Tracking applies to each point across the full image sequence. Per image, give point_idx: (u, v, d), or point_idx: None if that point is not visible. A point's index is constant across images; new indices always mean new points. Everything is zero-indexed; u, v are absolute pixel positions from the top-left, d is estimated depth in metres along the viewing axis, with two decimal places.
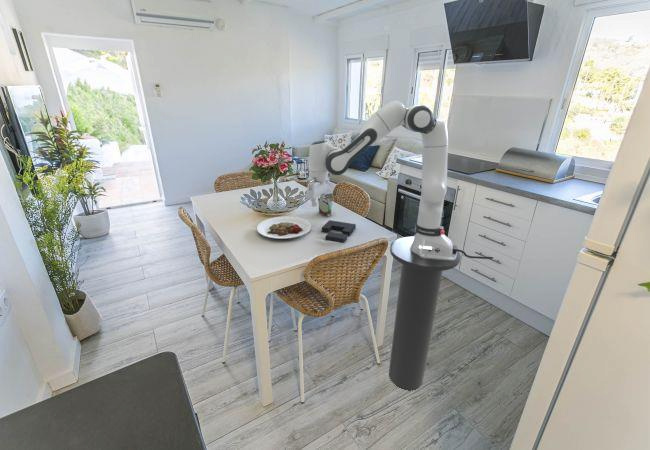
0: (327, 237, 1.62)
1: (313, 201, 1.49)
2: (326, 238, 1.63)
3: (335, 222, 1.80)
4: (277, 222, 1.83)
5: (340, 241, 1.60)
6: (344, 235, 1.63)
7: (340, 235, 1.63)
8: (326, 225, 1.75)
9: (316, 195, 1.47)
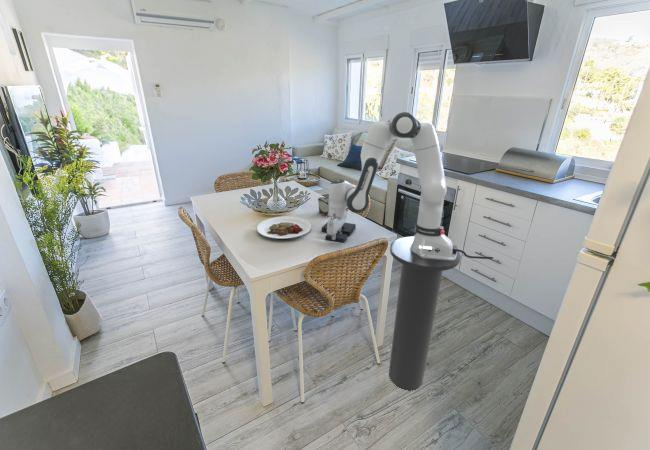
0: (327, 237, 1.62)
1: (333, 235, 1.58)
2: (326, 238, 1.63)
3: None
4: (277, 222, 1.83)
5: (340, 241, 1.60)
6: (344, 235, 1.63)
7: (340, 235, 1.63)
8: (326, 225, 1.75)
9: (335, 231, 1.55)
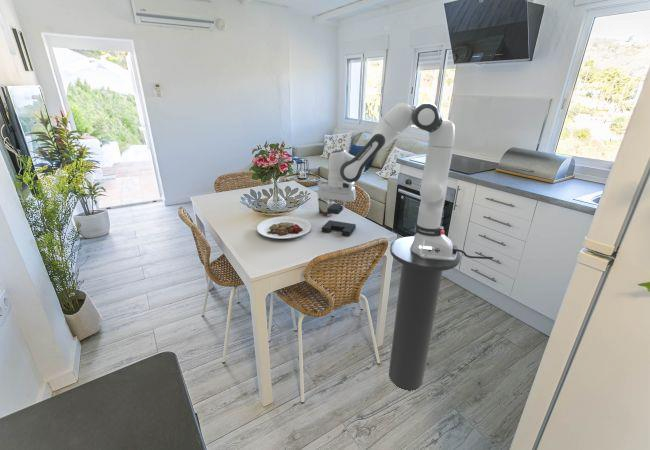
0: None
1: None
2: None
3: (335, 222, 1.80)
4: (277, 222, 1.83)
5: None
6: (335, 209, 1.61)
7: (335, 207, 1.63)
8: (326, 225, 1.75)
9: (323, 196, 1.64)
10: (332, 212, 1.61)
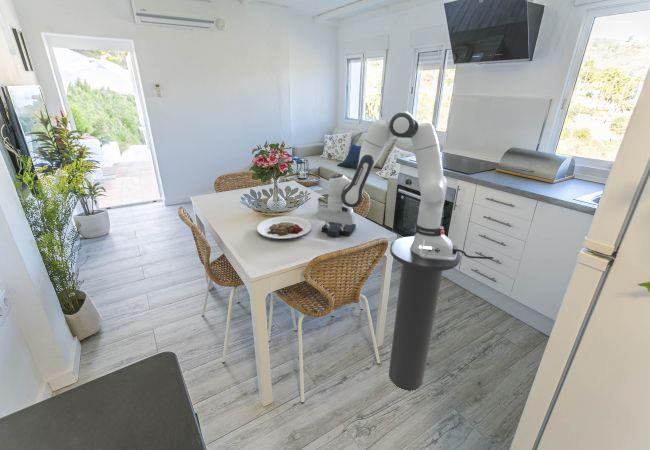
0: None
1: None
2: None
3: None
4: (277, 222, 1.83)
5: None
6: (335, 231, 1.66)
7: (334, 229, 1.68)
8: (326, 225, 1.75)
9: (323, 218, 1.68)
10: (331, 234, 1.66)
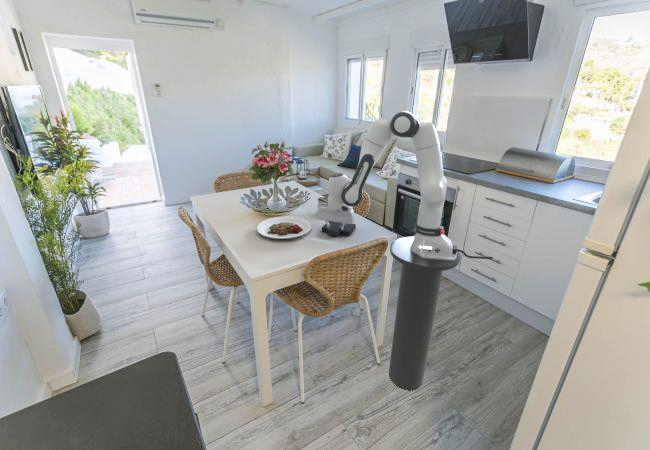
0: None
1: None
2: None
3: (335, 222, 1.80)
4: (277, 222, 1.83)
5: None
6: (335, 230, 1.66)
7: (334, 229, 1.68)
8: (326, 225, 1.75)
9: (323, 217, 1.68)
10: (331, 233, 1.66)
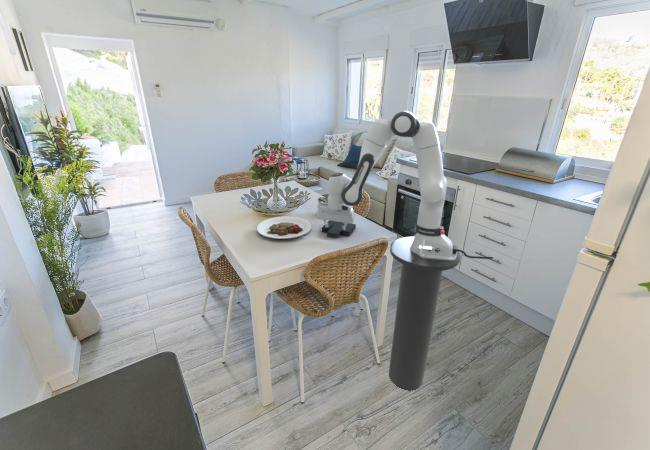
0: None
1: None
2: None
3: (335, 222, 1.80)
4: (277, 222, 1.83)
5: None
6: (335, 232, 1.66)
7: (334, 231, 1.68)
8: None
9: (323, 217, 1.68)
10: (331, 236, 1.66)
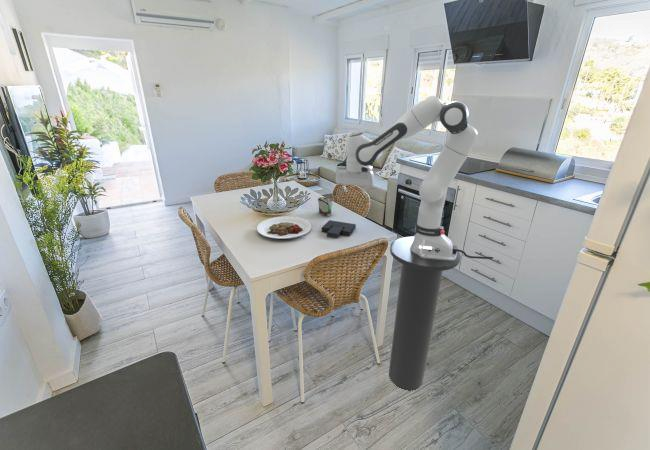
0: None
1: None
2: None
3: (335, 222, 1.80)
4: (277, 222, 1.83)
5: None
6: (335, 232, 1.66)
7: (334, 231, 1.68)
8: (326, 225, 1.75)
9: (341, 181, 1.64)
10: (331, 236, 1.66)
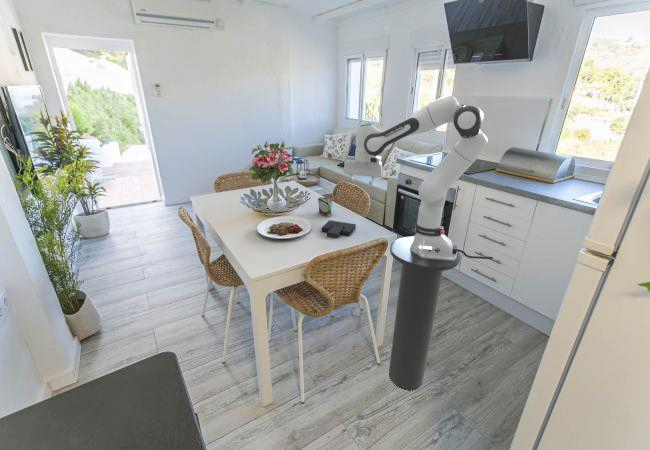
0: None
1: None
2: None
3: (335, 222, 1.80)
4: (277, 222, 1.83)
5: None
6: (335, 232, 1.66)
7: (334, 231, 1.68)
8: (326, 225, 1.75)
9: (349, 171, 1.64)
10: (331, 236, 1.66)
